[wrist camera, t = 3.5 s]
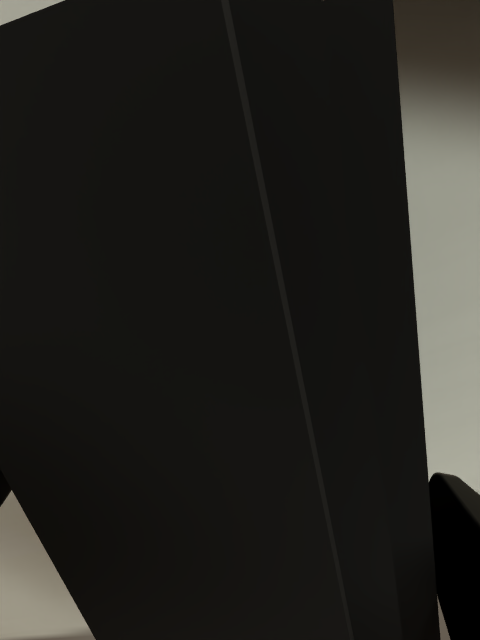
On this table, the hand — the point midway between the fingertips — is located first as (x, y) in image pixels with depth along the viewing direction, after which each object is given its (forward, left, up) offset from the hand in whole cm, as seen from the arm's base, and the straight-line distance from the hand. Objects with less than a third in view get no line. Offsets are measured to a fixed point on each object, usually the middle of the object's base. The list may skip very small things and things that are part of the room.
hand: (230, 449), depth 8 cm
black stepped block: (0, 0, -7) cm, 7 cm away
